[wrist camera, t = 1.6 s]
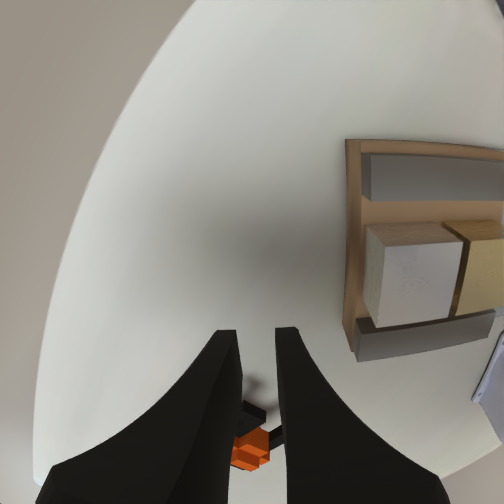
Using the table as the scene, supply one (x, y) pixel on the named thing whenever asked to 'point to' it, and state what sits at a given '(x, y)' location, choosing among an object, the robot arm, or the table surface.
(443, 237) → the grey block
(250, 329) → the table surface
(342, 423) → the robot arm
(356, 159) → the slot block
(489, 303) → the tan wooden block
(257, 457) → the toy
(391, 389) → the table surface
